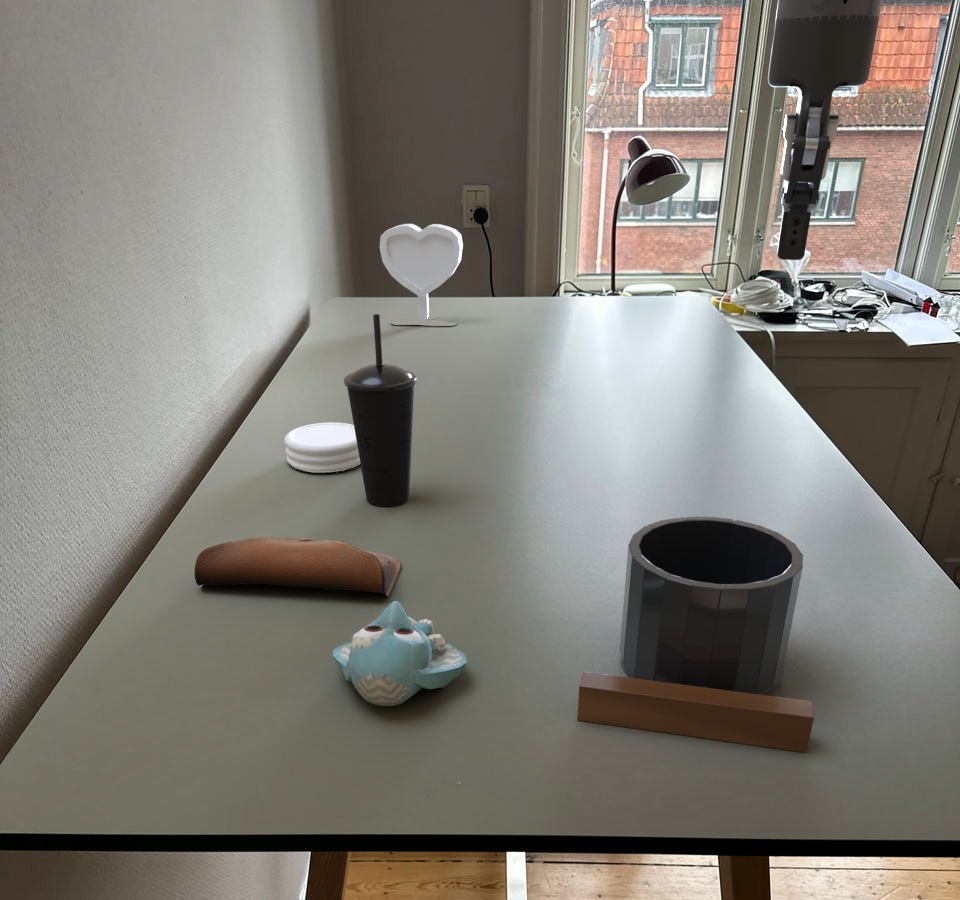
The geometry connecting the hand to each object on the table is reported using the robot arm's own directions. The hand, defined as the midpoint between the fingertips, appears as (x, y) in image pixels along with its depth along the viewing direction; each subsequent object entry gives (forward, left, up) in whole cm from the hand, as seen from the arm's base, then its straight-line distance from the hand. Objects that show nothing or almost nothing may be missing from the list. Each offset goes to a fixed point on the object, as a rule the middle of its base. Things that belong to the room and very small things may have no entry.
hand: (789, 258), depth 79 cm
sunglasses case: (+44, -2, -27) cm, 52 cm away
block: (+17, +28, -27) cm, 43 cm away
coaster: (+40, -34, -27) cm, 59 cm away
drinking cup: (+34, -20, -27) cm, 48 cm away
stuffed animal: (+37, +17, -27) cm, 49 cm away
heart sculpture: (+17, -110, -27) cm, 115 cm away
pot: (+13, +20, -27) cm, 36 cm away
